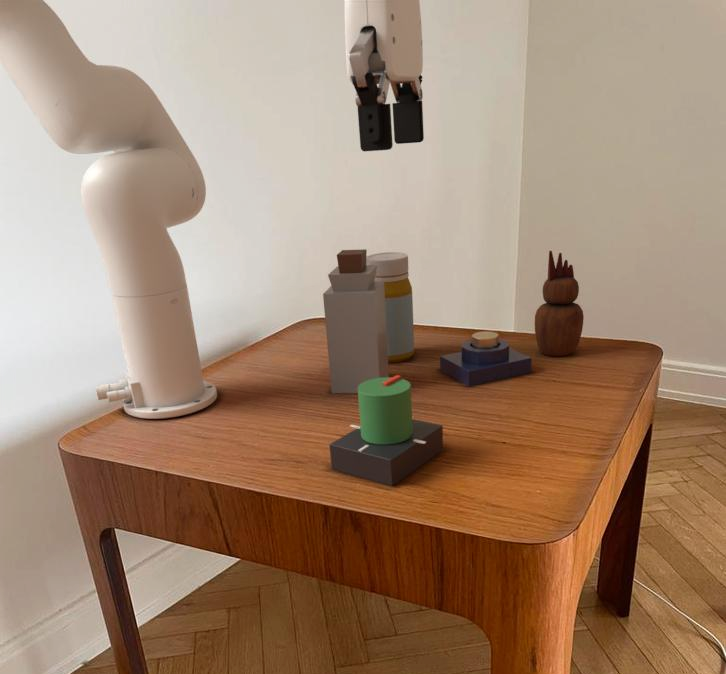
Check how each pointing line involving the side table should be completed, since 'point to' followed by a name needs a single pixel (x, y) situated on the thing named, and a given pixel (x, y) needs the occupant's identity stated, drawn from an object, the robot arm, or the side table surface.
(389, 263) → the bottle
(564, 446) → the side table surface
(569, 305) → the wooden figurine
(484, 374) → the button block
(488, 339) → the button
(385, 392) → the green rotary knob
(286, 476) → the side table surface
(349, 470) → the knob base
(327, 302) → the perfume bottle
